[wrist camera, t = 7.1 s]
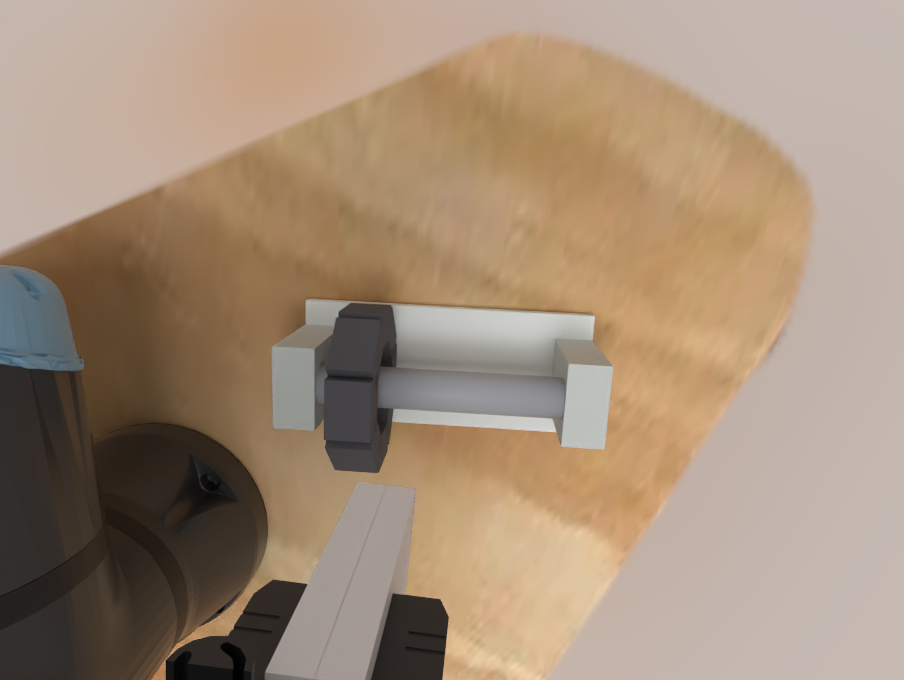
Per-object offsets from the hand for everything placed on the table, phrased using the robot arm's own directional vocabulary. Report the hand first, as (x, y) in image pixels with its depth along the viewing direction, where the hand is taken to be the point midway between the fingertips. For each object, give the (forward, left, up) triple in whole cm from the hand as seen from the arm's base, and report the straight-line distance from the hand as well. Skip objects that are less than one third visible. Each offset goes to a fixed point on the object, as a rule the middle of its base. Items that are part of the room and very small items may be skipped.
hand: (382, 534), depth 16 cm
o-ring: (-4, -2, -24) cm, 25 cm away
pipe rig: (0, -2, -26) cm, 26 cm away
